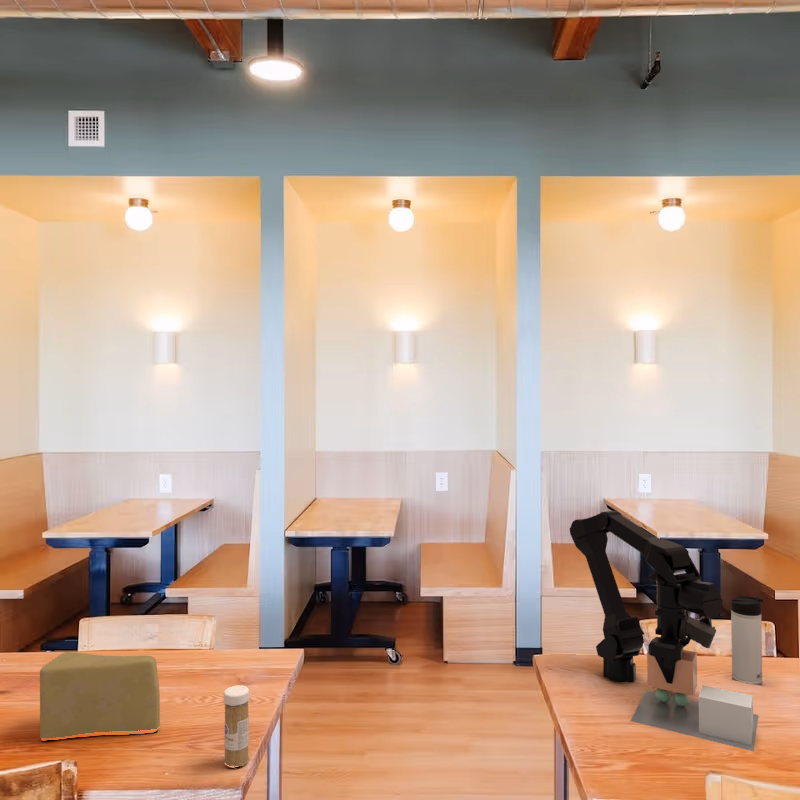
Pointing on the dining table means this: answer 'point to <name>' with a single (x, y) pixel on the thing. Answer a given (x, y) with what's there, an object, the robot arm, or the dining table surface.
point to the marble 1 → (662, 695)
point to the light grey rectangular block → (726, 714)
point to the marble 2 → (680, 699)
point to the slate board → (680, 719)
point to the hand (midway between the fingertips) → (672, 677)
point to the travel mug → (746, 639)
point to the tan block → (675, 674)
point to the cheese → (98, 694)
